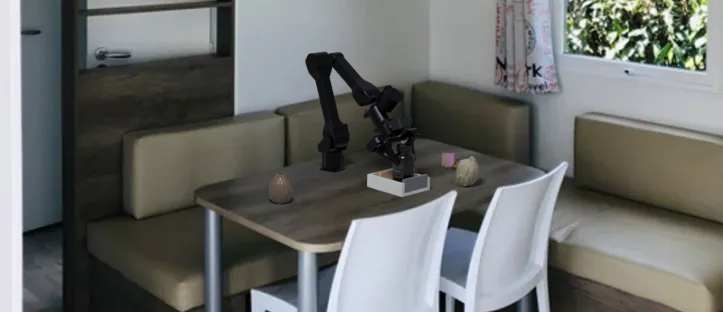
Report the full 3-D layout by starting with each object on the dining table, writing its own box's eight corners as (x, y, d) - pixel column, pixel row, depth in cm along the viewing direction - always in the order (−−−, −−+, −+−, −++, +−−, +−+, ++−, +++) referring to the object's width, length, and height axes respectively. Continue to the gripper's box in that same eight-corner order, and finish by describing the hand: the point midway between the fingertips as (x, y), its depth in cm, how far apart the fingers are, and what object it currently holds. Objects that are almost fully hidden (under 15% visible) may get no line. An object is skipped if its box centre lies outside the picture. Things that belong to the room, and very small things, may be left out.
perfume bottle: (435, 170, 323) (435, 157, 322) (443, 161, 334) (443, 149, 333) (470, 173, 319) (471, 159, 318) (477, 164, 330) (477, 151, 329)
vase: (279, 197, 289) (278, 169, 287) (297, 201, 285) (297, 172, 283) (264, 203, 283) (263, 174, 281) (282, 207, 280) (282, 177, 278)
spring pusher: (373, 182, 301) (374, 171, 300) (394, 177, 307) (394, 166, 306) (381, 184, 299) (381, 173, 298) (401, 179, 304) (401, 168, 304)
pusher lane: (367, 186, 301) (367, 171, 300) (394, 179, 309) (395, 164, 308) (402, 197, 290) (402, 180, 289) (429, 189, 298) (429, 174, 297)
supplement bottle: (418, 184, 296) (419, 146, 293) (398, 186, 293) (399, 148, 290) (407, 178, 302) (408, 141, 299) (388, 181, 299) (388, 143, 296)
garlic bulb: (467, 188, 308) (473, 158, 309) (484, 190, 301) (490, 159, 302) (444, 183, 303) (450, 152, 304) (461, 185, 296) (466, 153, 297)
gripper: (373, 110, 288) (398, 153, 283) (417, 102, 301) (442, 143, 296) (355, 131, 296) (379, 173, 291) (398, 123, 308) (422, 163, 303)
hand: (406, 162), depth 295 cm, fingers closed on supplement bottle, 7 cm apart
